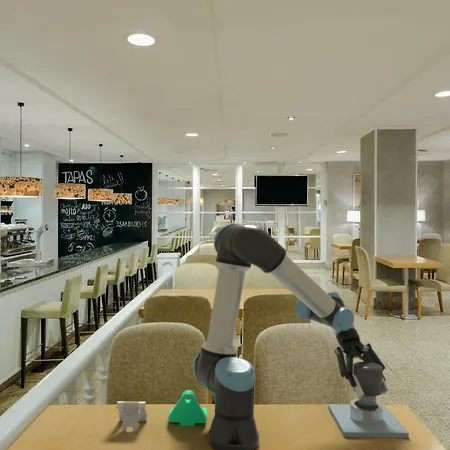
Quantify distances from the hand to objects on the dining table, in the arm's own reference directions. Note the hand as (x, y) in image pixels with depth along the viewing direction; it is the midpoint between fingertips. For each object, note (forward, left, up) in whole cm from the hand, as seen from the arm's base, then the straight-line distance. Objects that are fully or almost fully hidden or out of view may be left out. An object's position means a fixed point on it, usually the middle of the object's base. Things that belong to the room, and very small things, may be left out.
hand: (373, 394), depth 148 cm
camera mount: (-44, -40, -11) cm, 61 cm away
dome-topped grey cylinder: (-3, +1, -4) cm, 5 cm away
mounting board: (-3, +1, -11) cm, 11 cm away
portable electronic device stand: (-54, -56, -11) cm, 78 cm away
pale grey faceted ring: (-3, +1, -9) cm, 10 cm away
